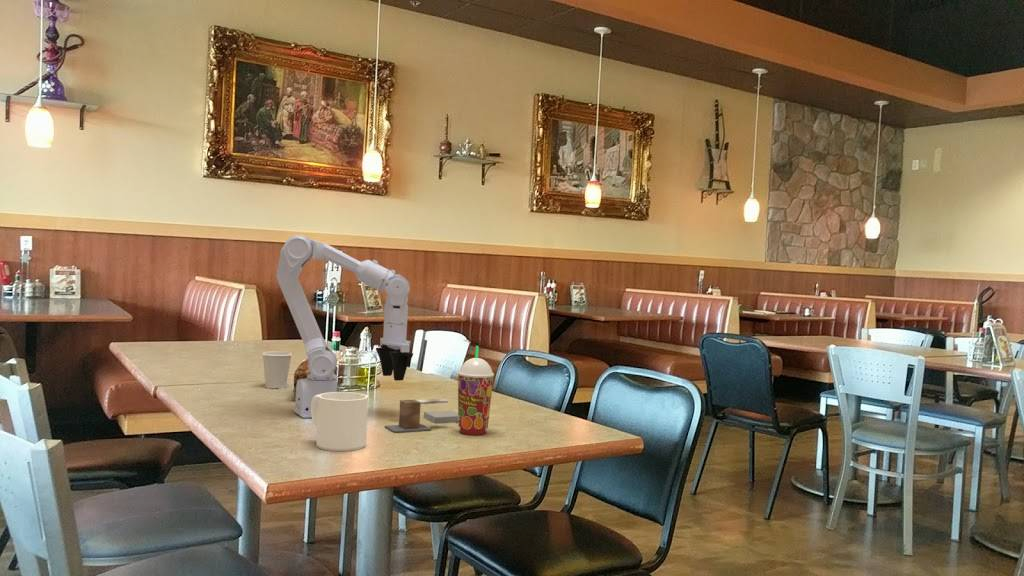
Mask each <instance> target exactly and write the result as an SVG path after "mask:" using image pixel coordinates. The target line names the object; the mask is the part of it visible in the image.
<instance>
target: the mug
mask: <svg viewBox="0 0 1024 576" xmlns="http://www.w3.org/2000/svg"><path fill="white" fill-rule="evenodd" d="M368 401H369V395H367V394H365V393H360V392H350V391H337V392H329V393H323V394H320V395H316V396H314V397H313V399H312V402H311V416H312V417H311V421H312V423H313V425H314V426H315V428H316V440H315V441H316V442H315V445H316V448H319V449H321V450H324V451H330V452H331V451H332V452H353V451H358V450H361V449H364V448H365V447H366V445H367V444H366V443H367V428H368V427H367V425H368V424H367V423H368V407H369V406H368V405H369V402H368Z"/></svg>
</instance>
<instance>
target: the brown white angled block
mask: <svg viewBox="0 0 1024 576" xmlns="http://www.w3.org/2000/svg"><path fill="white" fill-rule="evenodd" d="M448 403H449V400H447V399H445V398H434V399H433V398H431V399H429V398H428V399H400V400H399V412H398V413H399V415H398V416H399V417H398V425H399V426H400V427H401V428H403V429H417V428H419V426H420V424H421V421H420V420H421V405H430V404H431V405H433V404H448Z"/></svg>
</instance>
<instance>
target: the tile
mask: <svg viewBox="0 0 1024 576" xmlns="http://www.w3.org/2000/svg"><path fill="white" fill-rule="evenodd" d="M423 418H424V419H425V420H427V421H429V422H431V423H434V424H435V425H436V424H452V423H453V424H454V423H458V412H455V411H454V410H436V411H424V412H423Z"/></svg>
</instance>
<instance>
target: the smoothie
mask: <svg viewBox="0 0 1024 576" xmlns="http://www.w3.org/2000/svg"><path fill="white" fill-rule="evenodd" d="M479 347H480V345H475V355H474V357H471V358H469V359H467V360H466V361H464V362H463V364H462V365H461V367H460V369H459V370H458V371H457V402H458V404H457V409H458V412H457V413H458V422H457V423H458V427H459V430H460V433H462V434H465V435H468V436H469V435H471V436H477V435H478V436H480V435H484V434H485V433H486V430H487V429H488V427H489V420H490V411H491V403H492V395H493V393H492V391H493V385H494V376H495V373H494V372H493V369H492V366H491V365H490V363H488V361H487V360H485V359H483V358H481V357H479Z"/></svg>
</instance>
